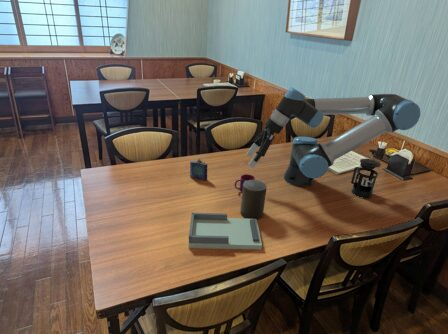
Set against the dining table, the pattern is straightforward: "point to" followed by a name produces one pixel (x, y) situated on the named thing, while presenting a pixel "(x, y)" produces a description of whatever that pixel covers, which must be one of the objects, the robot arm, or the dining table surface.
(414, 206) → the dining table surface
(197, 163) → the flask
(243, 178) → the mug
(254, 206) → the pillar candle
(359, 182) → the french press
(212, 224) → the deck plate
